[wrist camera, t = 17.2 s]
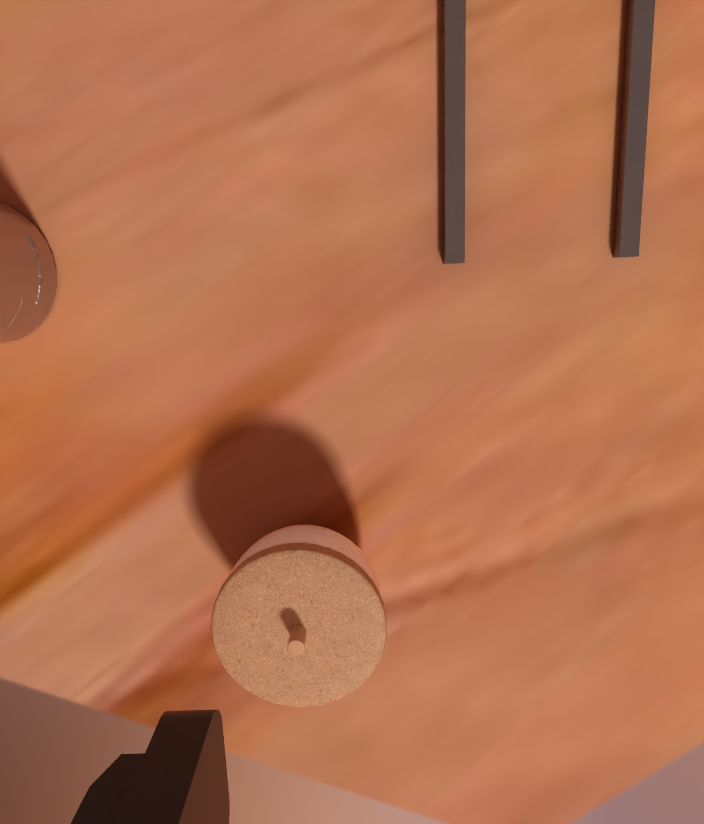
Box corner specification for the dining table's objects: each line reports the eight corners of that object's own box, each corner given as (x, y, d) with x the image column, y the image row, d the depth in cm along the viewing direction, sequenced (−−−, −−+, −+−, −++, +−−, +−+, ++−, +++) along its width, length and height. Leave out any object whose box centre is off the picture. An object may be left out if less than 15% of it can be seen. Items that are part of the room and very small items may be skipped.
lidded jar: (263, 481, 42) (237, 536, 33) (403, 531, 43) (416, 599, 34) (216, 609, 44) (180, 694, 35) (351, 655, 45) (350, 750, 36)
